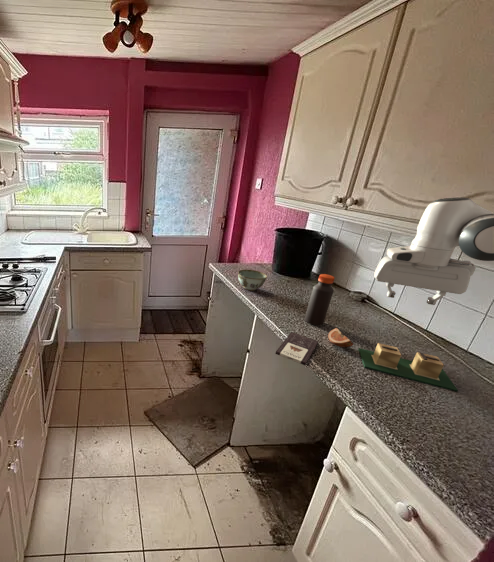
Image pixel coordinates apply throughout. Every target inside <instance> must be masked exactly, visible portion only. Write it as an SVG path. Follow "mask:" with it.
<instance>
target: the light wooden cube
mask: <svg viewBox="0 0 494 562" xmlns="http://www.w3.org/2000/svg"><path fill="white" fill-rule="evenodd" d="M373 352H374V354H373V357H374V359H375V362H376V364H380V365H384V366H388V367H392V368H396V366H397V364H398V362H399V360H400V358H402V353H401V352H400V350H399V348H398V347H397V346H392V345H389V344H384V343H381V342H378V343H377V345H376V347H375V350H374V351H373Z"/></svg>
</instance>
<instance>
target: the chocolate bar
mask: <svg viewBox="0 0 494 562" xmlns="http://www.w3.org/2000/svg"><path fill="white" fill-rule="evenodd" d="M318 344H319V340H317V339H313V338H311V337H307V336H305V335H303V334H299V333H296V332H293V331H291V332H290V333H289V334H288V335H287V337H286V338H285V339H284V340H283V342H282V343H281V344H280V345H279V347H278V348H277V349H276V351H275V353H274V354H275V355H278V356H280V357H283V358H285V359H287V360H290V361H293V362H296V363H298V364H300V365H303V366H306V365H307V363H308V361H309V360H310V358H311V356H312V354H313V353H314V351H315V349H316V348H317V346H318Z"/></svg>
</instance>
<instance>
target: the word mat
mask: <svg viewBox="0 0 494 562" xmlns="http://www.w3.org/2000/svg"><path fill="white" fill-rule="evenodd" d="M357 350H358V353H359V356H360V360H361V362H362V365H363V368H364V369H368V370H372V371H376V372H379V373H384V374H387V375H390V376H394V377H398V378H403V379H406V380H410V381H413V382H414V381H415V382H418V383H422V384H426V385H429V386H433V387H436V388H441V389H445V390H449V391H453V392H458V391H459V390H458V388H457V386H456V385H455V384H454V383H453V381H452V380H451V379H450V377H449V376H448V375H447V373H446V372H445V370H444V369H443V368H442V370H441V372H440V374H439V376H438V378H437V379H436V378H432V377H428V376H424V375H420V374H416V373H415V371H414V369H413V367H412V366H411V364H412V362H413V360H411V359H407V358H404V357H403V358H402V357H400V360H399V362H398V364H397V366H396V368H392V367H388V366H384V365H380V364H376V362H375V359H374V357H373V354H374V352H375V351H373V350H369V349H365V348H360V347H358V348H357Z"/></svg>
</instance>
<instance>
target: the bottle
mask: <svg viewBox="0 0 494 562" xmlns="http://www.w3.org/2000/svg"><path fill="white" fill-rule="evenodd" d="M317 280H318V281H317V282H318V283H316V284H314V286H313V287H312V290H311V294H310V298H309V300H308V304H307V308H306V312H305V314H304V321H305V322H306V323H307V324H309V325H312V326H317V327H319V326H323V325H324V323H325V321H326V316H327V313H328V310H329V307H330V304H331V301H332V297H333V295H334V292H335V291H334V288H333V286H332V285H333V284H334V281H335V276H333V275H330V274H328V273H327V274H326V273H321V274H319V276H318V279H317Z"/></svg>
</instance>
